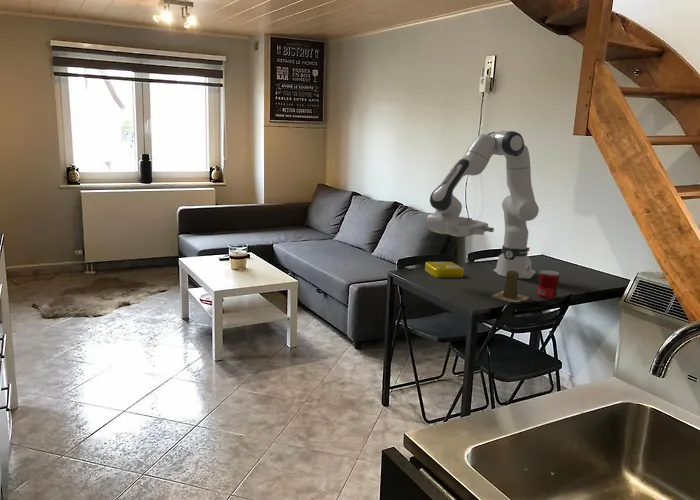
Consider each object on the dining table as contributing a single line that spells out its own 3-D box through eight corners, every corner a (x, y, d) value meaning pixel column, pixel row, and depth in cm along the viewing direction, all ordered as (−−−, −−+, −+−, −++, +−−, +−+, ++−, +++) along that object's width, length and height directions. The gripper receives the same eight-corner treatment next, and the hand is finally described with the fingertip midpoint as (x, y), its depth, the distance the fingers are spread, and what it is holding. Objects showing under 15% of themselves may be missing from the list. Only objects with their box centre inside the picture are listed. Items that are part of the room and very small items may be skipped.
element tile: (451, 270, 290) (452, 260, 289) (464, 278, 276) (465, 268, 275) (423, 270, 286) (424, 260, 285) (435, 278, 272) (436, 268, 271)
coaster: (503, 292, 254) (503, 290, 253) (529, 298, 246) (529, 296, 246) (490, 297, 244) (490, 295, 244) (517, 304, 237) (517, 302, 237)
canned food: (557, 300, 246) (560, 275, 244) (537, 298, 248) (541, 273, 245) (554, 295, 253) (558, 271, 251) (535, 293, 255) (539, 269, 253)
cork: (500, 294, 248) (503, 269, 245) (514, 294, 248) (517, 269, 246) (505, 298, 242) (508, 272, 239) (519, 298, 242) (522, 273, 240)
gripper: (448, 222, 249) (477, 226, 240) (470, 217, 264) (499, 221, 256) (447, 236, 250) (476, 241, 242) (469, 231, 266) (497, 235, 257)
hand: (488, 231), depth 249 cm, fingers open, 8 cm apart
